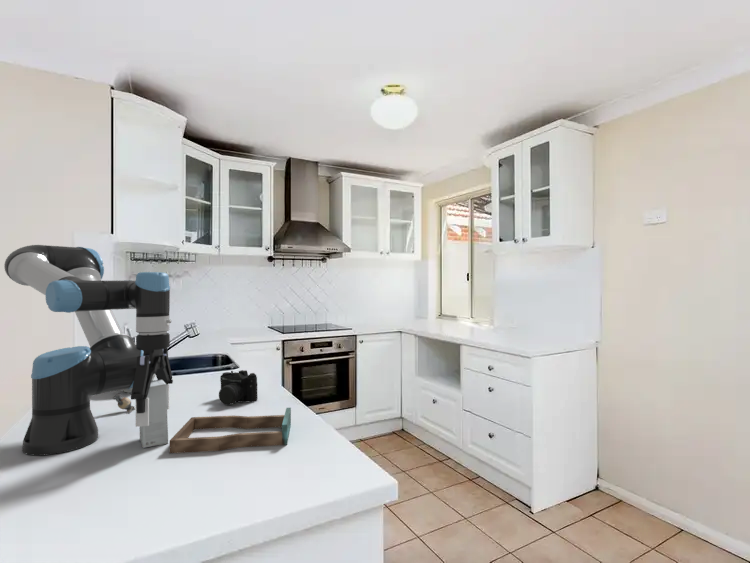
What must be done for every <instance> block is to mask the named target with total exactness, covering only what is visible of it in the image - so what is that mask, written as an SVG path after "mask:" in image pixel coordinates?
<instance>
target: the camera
mask: <svg viewBox="0 0 750 563" xmlns="http://www.w3.org/2000/svg"><path fill="white" fill-rule="evenodd" d="M219 381H220V390H219V391H218V398H219V400H220V402H221V403H222V404H223V405H226V406H230V405H233V404H235V403H246V402H247V403H255V402H257V401H258V376H257V374H256V373H255V372H251V373H249V374H248V370H247V369H245V370H243V369H242V370H238V372H236V371H235V372H234V370H230V372H227V371H226V372H223V373H222V374H221V375H220V380H219Z"/></svg>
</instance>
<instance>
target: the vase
mask: <svg viewBox="0 0 750 563" xmlns="http://www.w3.org/2000/svg"><path fill="white" fill-rule="evenodd" d="M112 400H114V401H116V402H117V407H118V408H120V410H126V413H125V414H126V415H127V414H130V413H133V411H136V405H132V401H131V399H130V398H128V397H126V396H125V397H123V396H122V395H121V393H116V395H115V396H114V397H112ZM132 410H133V411H132Z"/></svg>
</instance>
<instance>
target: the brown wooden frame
mask: <svg viewBox="0 0 750 563" xmlns="http://www.w3.org/2000/svg"><path fill="white" fill-rule="evenodd" d="M291 409H292V407H286V408H285V413H284V414H277V415H251V416H245V415H244V416H243V415H215V416H212V415H211V416H194V417H193V416H192V417H190V418H189V420H187V422H185V424H183V425H182V427H181V428H179V430H178V431H177V432H176V433H175V434H174V435H173V437H171V438H170V440H169V454H185V453H187V454H188V453H201V452H203V453H204V452H205V453H206V452H218V451H219V452H220V451H225V450H230V449H236V448H248V447H249V448H252V447H253V448H254V447H269V446H270V447H271V446H272V447H273V446H287V445H288V443H289V436H290V431H291V427H292V426H291V425H292V410H291ZM231 428H232V429H243V430H245V429H246V430H247V429H248V430H250V429H251V430H253V429H254V430H255V429H270V428H275V429H277V428H281V430H279V431H277V430H276V431H262V432H261V431H260V432H258V431H257V432H239V433H232V434H226V435H221V436H202V437H201V436H200V437H199V436H197V437H190V436H191V435H192V433H194V431H195V430H210V429H211V430H212V429H231Z"/></svg>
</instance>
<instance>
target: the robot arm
mask: <svg viewBox="0 0 750 563" xmlns="http://www.w3.org/2000/svg"><path fill="white" fill-rule="evenodd" d="M3 266H4V271H5V274H6V275H7V277H9V279H10V280H12V281H13V282H15V283H16V284H19V285H20V286H21V285H22V286H27V287H31V288H33V289H34V290H36V291H37V292H39V293H41V295H44V296H45V303H46V305H47V308H48V309H49V310H50V311H52V312H54V313H69V314H71V313H75V316H76V318H77V320H78V322H79V325H80V326H81V329H82V331H83V334H84V335H85V338H86V341H87V342H88V345H89V346H86V345H85V346H84V345H83V346H82V345H78V346H72V347H64V348H58V349H54V350H50V351H47V352H45V353H41V354H39V355H38V356H36V357H35V358H34V360H33V362H32V370H31V375H30V379H31V418H30V422H29V423H28V427H27V430H26V431H25V435H24V437H23V440H22V452H23V454H25V453H27V454H26V455H29V454H34V455H33V456H47V455H46V454H49V455H55V454H56V453H57V454H62V453H65V452H66V453H67V452H70V451H74V450H78V449H81V448H84V447H86V446H89V445H90V444H93V443H95V442H96V441H97V440H98V439H99V428H98V425H97V422H96V419H95V417H94V415H93V412H92V410H91V397H92V396H97V395H103V394H108V393H112V392H113V393H114V392H117V391H123V389H130V388H132V392H130V401H131V400H135V427H136V428H137V427H139V428H140V426H149V398H147V395H148V392H149V388H150V385H151V381H152V377H153V374H154V373H155V374H156V375H155V377H156V380H163V381H164V382H165V383H166V394H167V410H169V409H170V384H173V383H174V380H173V374H172V369H171V364H170V358H169V347H170V345H171V344H170V342H171V341H170V340H171V339H170V337H171V336H170V333H169V331H170V324H171V323H172V320H171V319H170V305H171V304H170V303H171V298H170V297H171V295H170V292H171V286H170V278H169V277H170V276H169V274H168V273H167V272H163V271H145V272H143V271H142V272H141V271H140V272H138V273H137V274H136V276H135V280H127V279H126V280H102V279H103V277H104V274H105V267H104V260H103V258H102V257H101V255H100V254H99V252H98V251H97V250H95V249H93V248H88V247H84V246H75V247H74V246H62V245H61V246H60V245H46V244H45V245H44V244H31V245H26V246H22V247H20V248H17V249H15V250H14V251H12V252H11V253H10V254H8V256H7V257H6V259H5V261H4V265H3ZM112 310H115V311H118V310H135V311H136V312H135V313H136V314H135V332H136V333H138V334H137V335H136V336H135V340H136V341H134V339H133V338H132V336H130V335H129V334H126V333H124V332H123V331H122V329H121V328H122V327H121V326H120V325H119V322H118V321H117V318H116V317H115V314H114V312H113V311H112ZM135 342H136V343H135ZM44 454H45V455H44Z"/></svg>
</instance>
